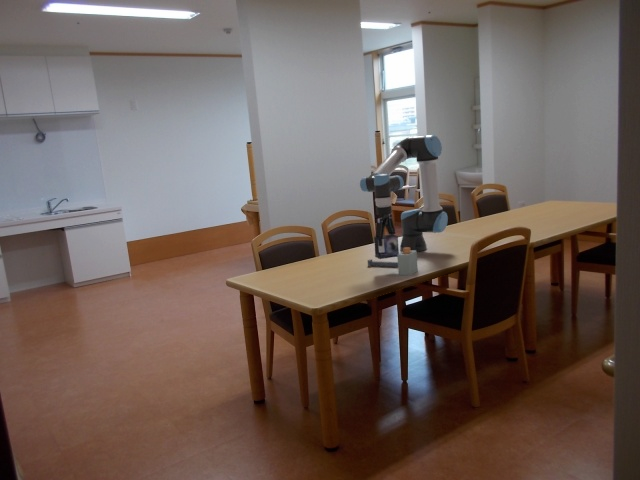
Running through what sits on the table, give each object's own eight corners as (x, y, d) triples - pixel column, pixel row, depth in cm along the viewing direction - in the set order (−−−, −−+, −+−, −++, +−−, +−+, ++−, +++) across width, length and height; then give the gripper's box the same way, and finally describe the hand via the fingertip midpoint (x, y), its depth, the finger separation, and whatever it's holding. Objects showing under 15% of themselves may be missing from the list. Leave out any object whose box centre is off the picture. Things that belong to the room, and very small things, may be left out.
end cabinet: (406, 269, 273) (405, 250, 271) (417, 270, 270) (416, 250, 268) (398, 274, 265) (397, 254, 263) (410, 275, 261) (408, 255, 260)
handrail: (370, 265, 290) (369, 259, 289) (410, 266, 278) (410, 260, 277) (368, 266, 288) (367, 260, 287) (409, 267, 276) (408, 261, 275)
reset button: (405, 257, 268) (404, 247, 267) (412, 257, 266) (411, 247, 266) (402, 258, 265) (401, 248, 264) (409, 258, 263) (408, 248, 263)
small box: (379, 259, 267) (378, 238, 265) (374, 257, 273) (373, 236, 271) (399, 256, 269) (398, 235, 267) (394, 254, 276) (393, 233, 274)
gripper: (386, 202, 278) (389, 244, 282) (366, 209, 259) (369, 254, 262) (400, 202, 275) (402, 244, 279) (380, 209, 255) (383, 255, 259)
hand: (386, 249), depth 271 cm, fingers closed on small box, 11 cm apart
